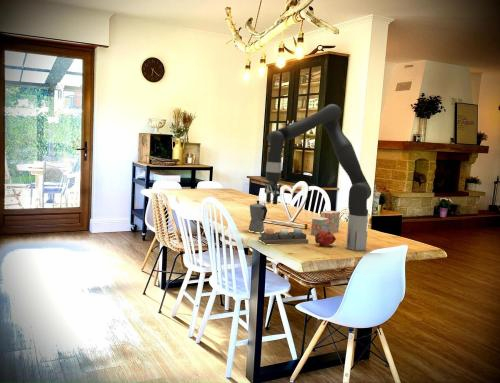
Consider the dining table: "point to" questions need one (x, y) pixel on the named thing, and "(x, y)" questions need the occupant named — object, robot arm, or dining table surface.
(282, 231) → the cream button
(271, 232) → the terracotta button
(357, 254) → the dining table surface
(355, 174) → the robot arm
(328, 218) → the stack of blocks
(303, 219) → the dining table surface
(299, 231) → the slate button
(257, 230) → the coffeepot
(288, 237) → the button board
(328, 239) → the dragon fruit
